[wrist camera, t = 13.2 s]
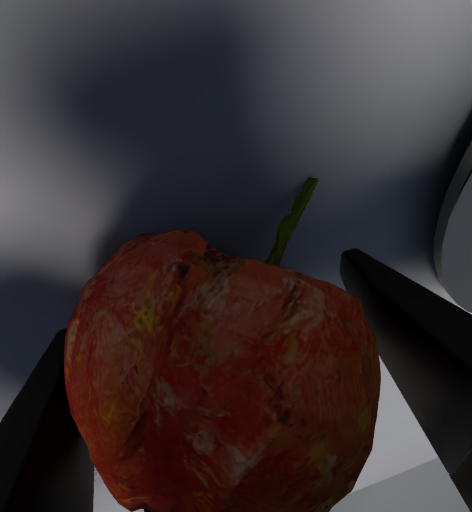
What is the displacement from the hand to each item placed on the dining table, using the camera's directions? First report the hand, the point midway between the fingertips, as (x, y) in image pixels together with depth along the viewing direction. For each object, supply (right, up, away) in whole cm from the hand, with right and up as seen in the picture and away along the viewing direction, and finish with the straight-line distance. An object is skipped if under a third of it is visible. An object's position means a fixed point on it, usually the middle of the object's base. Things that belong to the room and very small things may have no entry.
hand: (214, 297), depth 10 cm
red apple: (0, +1, +1) cm, 2 cm away
